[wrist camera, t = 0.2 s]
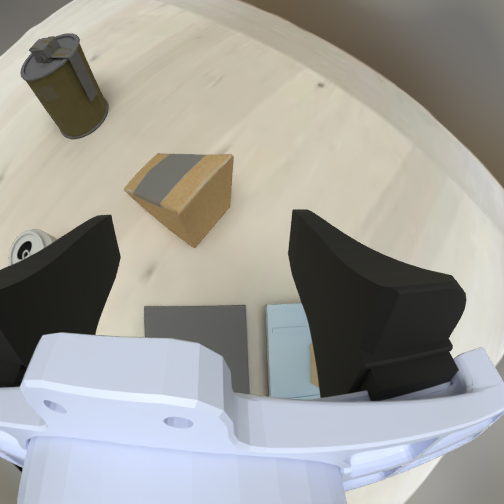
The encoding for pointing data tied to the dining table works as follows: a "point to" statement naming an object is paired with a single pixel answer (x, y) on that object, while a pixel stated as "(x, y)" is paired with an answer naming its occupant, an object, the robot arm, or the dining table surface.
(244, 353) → the mat
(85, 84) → the canister
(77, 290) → the robot arm
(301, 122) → the dining table surface
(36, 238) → the can
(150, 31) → the dining table surface
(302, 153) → the dining table surface
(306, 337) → the lid
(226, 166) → the sandwich container
